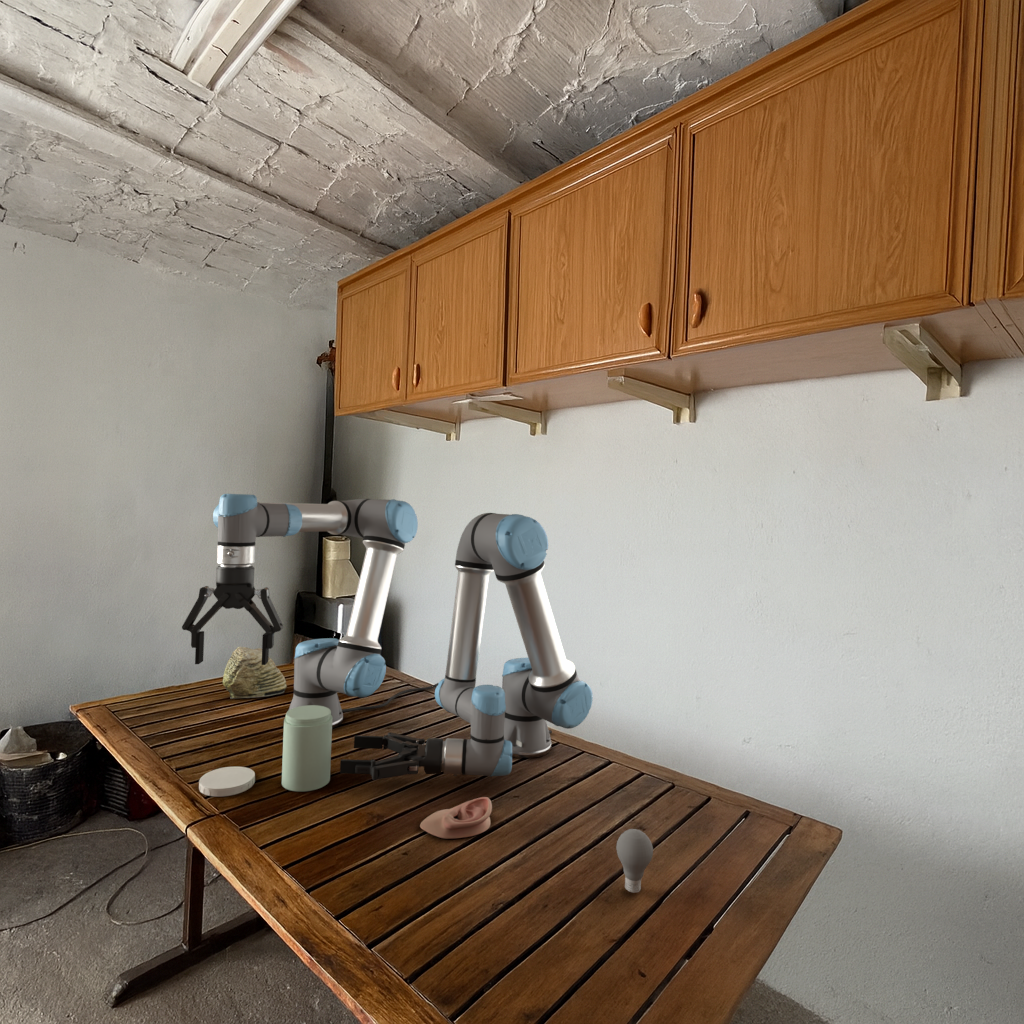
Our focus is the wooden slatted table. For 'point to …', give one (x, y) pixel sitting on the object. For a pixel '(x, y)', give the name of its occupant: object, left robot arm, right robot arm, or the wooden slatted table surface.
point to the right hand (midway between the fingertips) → (347, 753)
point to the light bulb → (634, 857)
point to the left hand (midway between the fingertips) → (232, 663)
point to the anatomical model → (460, 820)
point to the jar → (307, 748)
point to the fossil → (252, 675)
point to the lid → (226, 781)
